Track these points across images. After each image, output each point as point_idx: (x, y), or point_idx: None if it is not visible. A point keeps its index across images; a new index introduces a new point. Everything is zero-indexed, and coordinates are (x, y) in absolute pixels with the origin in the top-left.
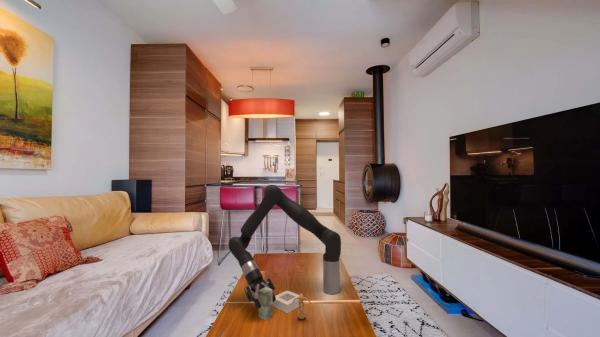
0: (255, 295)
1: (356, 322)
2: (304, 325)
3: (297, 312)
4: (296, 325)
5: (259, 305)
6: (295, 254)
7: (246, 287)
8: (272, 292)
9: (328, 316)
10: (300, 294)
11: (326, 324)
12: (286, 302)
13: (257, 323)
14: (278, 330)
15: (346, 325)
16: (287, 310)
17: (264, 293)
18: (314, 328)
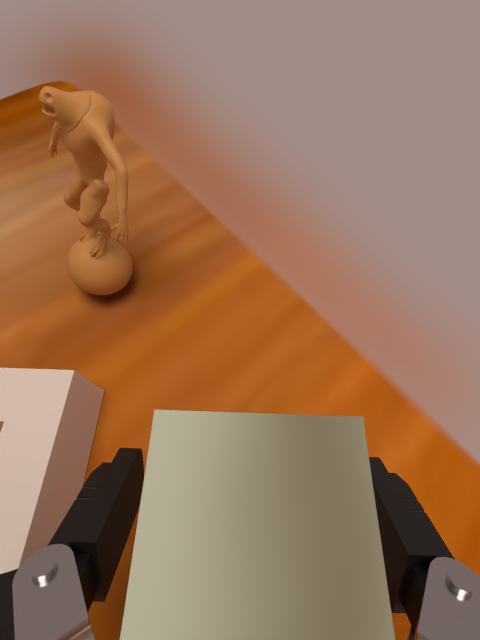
0: (474, 634)
1: (21, 112)
2: (165, 235)
3: (113, 275)
4: (191, 263)
5: (384, 470)
6: None
7: None
8: (55, 552)
9: (20, 198)
10: (66, 98)
11: None
12: (34, 407)
13: None
14: (294, 302)
15: None
16: (92, 385)
17: (358, 434)
18: (159, 194)
